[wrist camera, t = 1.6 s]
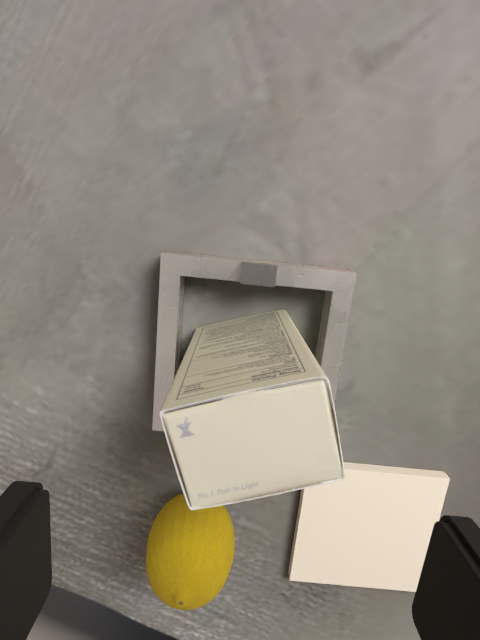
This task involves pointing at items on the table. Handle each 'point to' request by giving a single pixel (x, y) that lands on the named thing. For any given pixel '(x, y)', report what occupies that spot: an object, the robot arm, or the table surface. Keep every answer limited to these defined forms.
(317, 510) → the pad
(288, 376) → the skincare box
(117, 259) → the table surface
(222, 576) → the lemon
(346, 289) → the grey square frame
